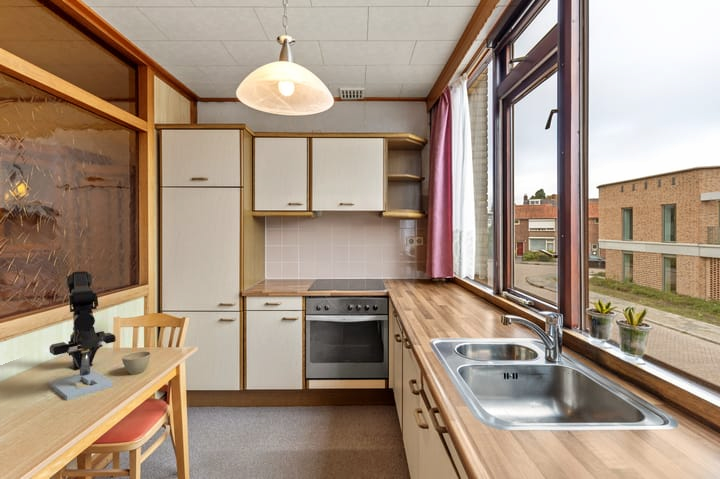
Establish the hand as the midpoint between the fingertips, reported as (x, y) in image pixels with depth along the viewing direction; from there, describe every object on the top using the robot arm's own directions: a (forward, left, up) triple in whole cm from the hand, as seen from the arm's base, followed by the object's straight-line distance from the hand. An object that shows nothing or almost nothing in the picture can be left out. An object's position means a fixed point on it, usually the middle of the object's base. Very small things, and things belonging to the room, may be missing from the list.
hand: (84, 366), depth 132 cm
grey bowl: (-1, +18, -9) cm, 20 cm away
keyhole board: (-4, 0, -8) cm, 9 cm away
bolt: (0, 0, -3) cm, 3 cm away
